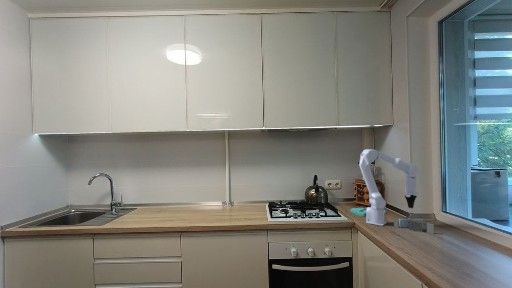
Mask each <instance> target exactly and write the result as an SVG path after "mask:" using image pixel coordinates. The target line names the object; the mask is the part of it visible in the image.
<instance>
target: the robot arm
mask: <svg viewBox="0 0 512 288" xmlns="http://www.w3.org/2000/svg"><path fill="white" fill-rule="evenodd" d="M359 156H360V158H359V165H358V166H359V168H360V171H361V175H362V177H363V179H364V183H365V185H366V188H367V191H368V197H369V198H368V199H369V200H368V201H369V204H370V207H369V206H368V207H366V208H367V210H366V215H365V219H366V220H365V223H366V224H371V225H377V226H384V225H386V224H387V223H388V222H387V221H385V213H384V210H385V207H386V205H387V201H386V200H385V199H384V197H382V194H381V193H380V191H379V188H378V187H377V184H376V181H375V178H374V176H373V173H372V170H371V167H370V166H371V165H372V163H373V162H374V161H375V160H376V159H378V160H379V159H380V160H382V161H385V162H387V163H390V164H391V165H392V167H394V168H395V169H398V170H400V171H402V172H404V184H405V185H404V190H405V191H404V198H405V200H406V203H407V207H408V209H413V208H414V206H415V202H416V199H417V197H418V196H417V195H419V194H420V192H417V174H418V173H419V168H418V166H417V165H415V164H411V162H409V161H405V160H403V158H401V157H398V158H397V157H396V158H393V157H392V156H390V155H388V154H385V153H383V152H382V151H379V150H377V149H374V148H370V149H369V148H366V149H363V151H362V152H361V153H360V155H359Z"/></svg>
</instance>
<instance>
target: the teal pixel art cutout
mask: <svg viewBox="0 0 512 288" xmlns="http://www.w3.org/2000/svg"><path fill="white" fill-rule="evenodd" d="M367 208H368V207H357V208H356V207H353V208H350V210H349V211H350V213H352V214H354V215H356V216H360V217H366V210H367ZM384 214H387V209H384Z"/></svg>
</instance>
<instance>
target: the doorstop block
mask: <svg viewBox="0 0 512 288" xmlns="http://www.w3.org/2000/svg"><path fill="white" fill-rule="evenodd" d="M409 219H410V221H409V227H408V228H409V231H412V230H413V232H419V233H423V230H424V229H423V228H424V220H423V221H421V220H413V219H414V218H409Z"/></svg>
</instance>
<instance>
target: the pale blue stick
mask: <svg viewBox="0 0 512 288" xmlns="http://www.w3.org/2000/svg"><path fill="white" fill-rule="evenodd" d="M400 219H401V228H409V221H410V219H411V218H400ZM412 219H413V220H421V221H423V222H424V219H423V218H412Z"/></svg>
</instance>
